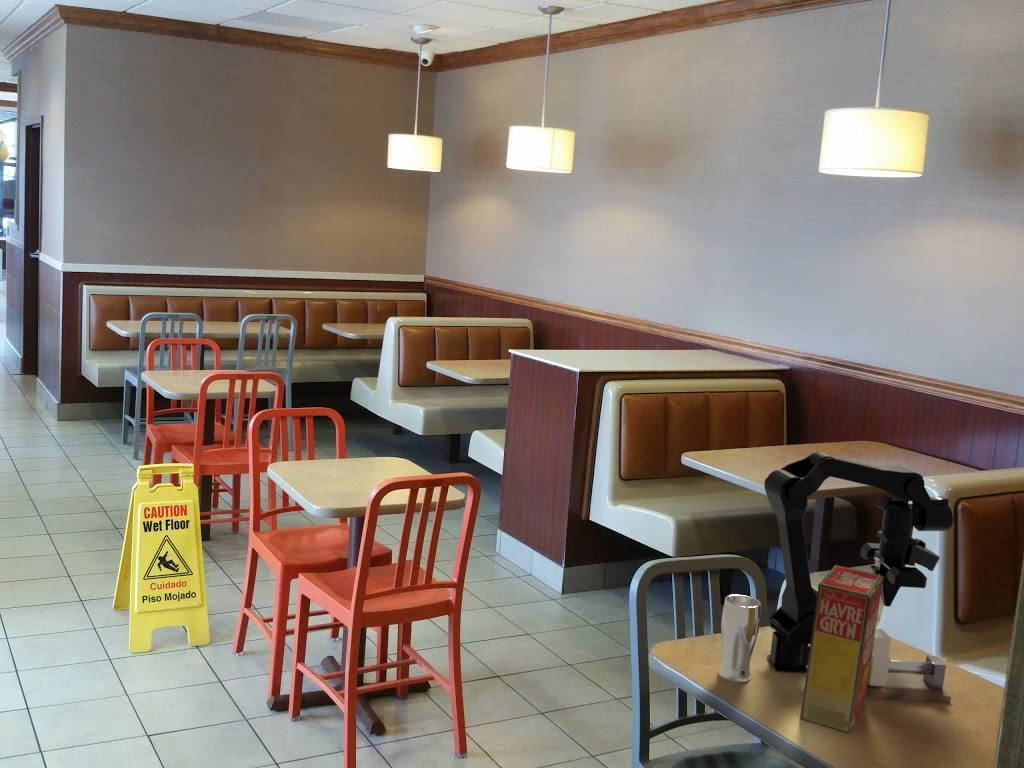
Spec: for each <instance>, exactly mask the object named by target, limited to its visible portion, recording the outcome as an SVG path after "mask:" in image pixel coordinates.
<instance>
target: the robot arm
mask: <svg viewBox="0 0 1024 768" xmlns="http://www.w3.org/2000/svg"><path fill="white" fill-rule="evenodd" d="M828 478H835V479H839V480H843V481H844V480H845V481H847V482H848V481H849V482H852V483H858V484H861V485H865V486H870V487H873V488H878V489H880V490H882V491H884V492H887V493H889V494H891V495H894V496H896V497H898V498H900V499H893V498H892V497H891V496H888V495H886V494H885V495H883V496H882V498H880V499H878V500H877V501H875V502H874V505H875V506H876V507H878V508H880V509H882V510H883V517H882V525H881V530H877V532H876V533H877V534H876V535H877V537H878V538H879V539H880V541H879V543H875V542H874V543H873V542H866V543H864V544H863V545H862V546H861V547H860V553H859V555H860V557H862V558H863V560H869V558H870V557H873V560H874V565H870V569H871V571H872V573H873V574H877V575H881V576H883V577H884V578H883V582H882V588H881V595H880V599H881V600H882V605H883V606H885V607H891V605H892V604H893V602H894V601H895V598H896V595H897V594H898V592H899V591H900V588H912V589H913V588H916V589H917V588H918V589H925V588H927V581H928V577H927V576H926V575H925V574H924V573H923V572H922V571H921V570H920V569H919V568H917V567H916V564H917V565H919V566H922V567H924V568H926V569H927V570H928V571H929V572H934V570H935V568H936V566H937V565H938V562H939V560H940V558H941V557H940V556H939V555H937V554H936V553H935V552H933V551H932V550H930V549H929V548H927V544H926V542H925V541H923V540H922V539H919V538H917V537H915V538H914V537H913V532H914V529H915V530H916V531H919V532H947V531H949V530H951V528H952V527H953V525H954V516H953V512H952V509H951V507H950V506H949V501H950V500H949V498H946V497H944V496H941V495H940V496H933V497H932V496H931V497H930V495H929V492H928V490H927V489H926V487H925V484H926V483H925V480H924V477H923V475H922V474H920V473H917V472H916V471H913V470H911V469H908V468H907V467H904V466H902V465H900V464H899V465H898V464H882V465H872V464H867V463H862V462H858V461H855V460H850V459H846V458H843V457H838V456H833V455H829V454H826V453H824V452H822V451H816V452H813V453H810V454H809V455H808V456H806V457H805V458H802V459H799V460H797V461H794V462H791V463H789V464H786V465H785V466H782V468H780V469H776V470H773V471H772V472H770V473H769V474H768V475H767V477H766V478H764V485H763V486H764V491H765V494H766V497H767V500H768V503H769V506H770V507H771V508H772V510H773V512H774V514H775V517H776V519H777V524H778V533H779V534H778V535H779V541H780V548H781V555H782V562H783V570H784V577H785V583H786V584H785V588H784V590H783V592H782V595H781V606H779V608H778V609H777V610H775V612H773V613H772V614H771V615H770V616H769V617H768V622H769V623H768V624H769V627H770V628H771V629H773V630H774V631H772V638H771V644H770V645H771V646H770V654H768V655H766V658H767V660H768V661H769V663H770V664H771V666H772V667H773V669H774V670H775V671H776V672H789V673H790V672H791V673H807V665H808V658H809V651H810V644H811V637H812V630H813V623H814V616H815V608H816V601H817V594H818V589H817V590H816V588H814V587H812V581H811V580H812V579H811V572H810V565H809V557H808V550H807V549H808V548H807V542H806V541H807V540H806V535H805V527H804V516H805V513H806V510H807V509H808V505H809V504H808V503H809V502H808V501H809V500H808V498H809V497H810V496H811V495H813V494H814V493H815V492H817V491H818V490H819V488H820V487H821V486H822V484H823V483H824V482H825V480H827V479H828ZM908 502H912V503H908Z"/></svg>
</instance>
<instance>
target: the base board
mask: <svg viewBox="0 0 1024 768" xmlns="http://www.w3.org/2000/svg"><path fill="white" fill-rule="evenodd" d="M923 677H924V675H920V674H902V673H888V674H887V682H886V686H870V685H869V684H868V686H867V693H866V699H879V700H897V701H898V700H899V701H915V702H916V701H917V702H931V703H932V702H936V703H951V699H952V696H951V695H950V694H949V693H948V691H946V690H945V688H943V690H932V689H931V688H930V687H929V686H928V685H927V684H926V683H925V682H924V681H923Z"/></svg>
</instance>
